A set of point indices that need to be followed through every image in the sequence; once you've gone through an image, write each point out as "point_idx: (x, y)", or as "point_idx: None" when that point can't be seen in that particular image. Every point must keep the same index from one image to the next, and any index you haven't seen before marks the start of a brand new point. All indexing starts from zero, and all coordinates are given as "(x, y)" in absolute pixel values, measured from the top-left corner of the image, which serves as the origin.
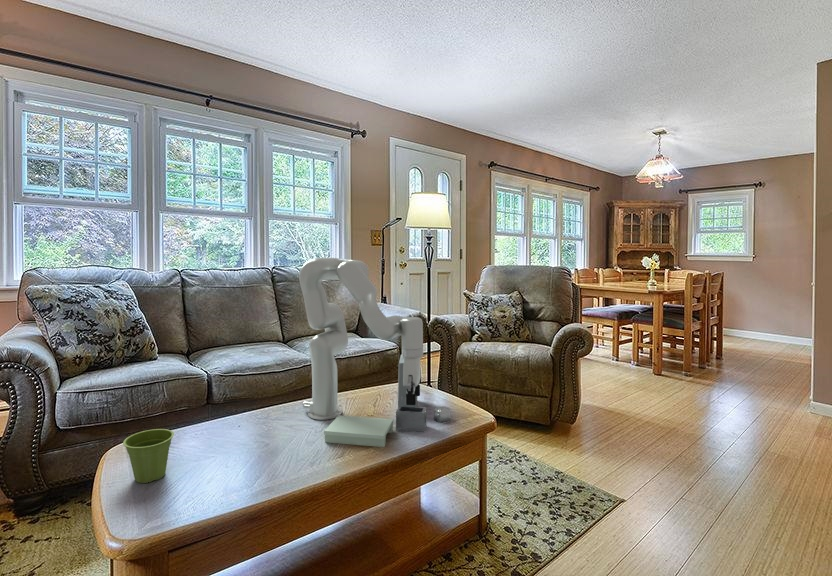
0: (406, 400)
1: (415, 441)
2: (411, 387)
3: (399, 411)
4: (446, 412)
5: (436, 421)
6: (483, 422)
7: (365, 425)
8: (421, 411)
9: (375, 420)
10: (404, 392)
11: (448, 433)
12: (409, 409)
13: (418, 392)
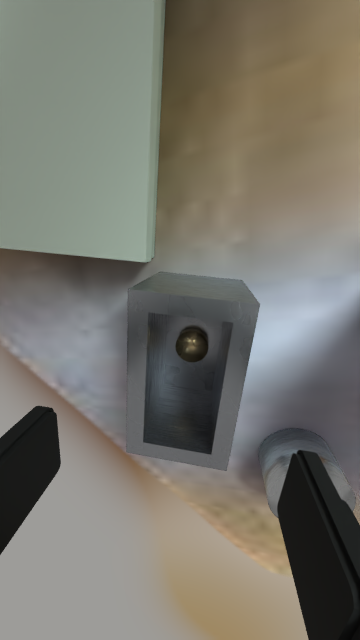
0: (9, 433)
1: (73, 356)
2: (339, 561)
3: (132, 314)
4: (271, 508)
5: (270, 435)
6: (260, 559)
7: (7, 80)
8: (213, 428)
9: (103, 138)
10: None
11: (159, 459)
12: (222, 369)
13: (288, 543)
